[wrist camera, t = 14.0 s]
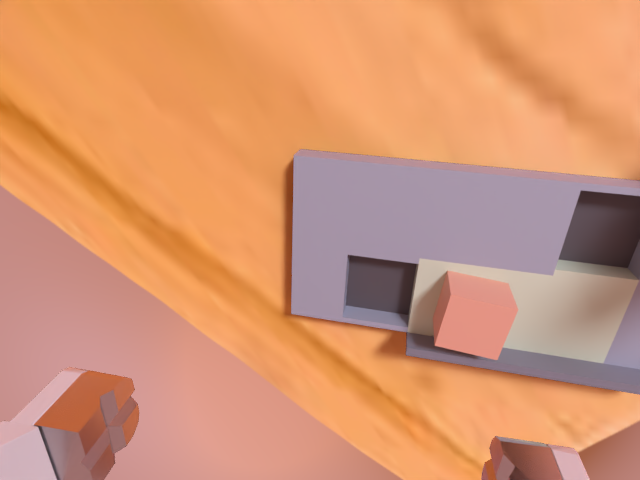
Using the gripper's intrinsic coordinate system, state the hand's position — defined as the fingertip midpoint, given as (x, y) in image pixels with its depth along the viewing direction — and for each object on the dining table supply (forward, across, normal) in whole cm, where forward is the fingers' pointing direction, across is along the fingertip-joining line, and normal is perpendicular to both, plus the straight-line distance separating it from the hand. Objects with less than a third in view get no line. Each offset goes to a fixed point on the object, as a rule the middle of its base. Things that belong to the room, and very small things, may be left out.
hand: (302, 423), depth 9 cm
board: (+24, -10, +7) cm, 27 cm away
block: (+22, -9, +10) cm, 26 cm away
